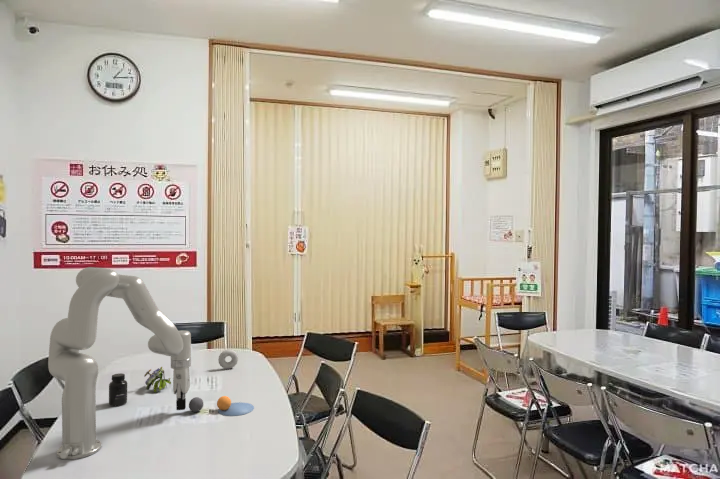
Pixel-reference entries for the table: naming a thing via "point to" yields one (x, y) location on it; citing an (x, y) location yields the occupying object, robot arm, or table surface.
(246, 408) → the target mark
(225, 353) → the donut
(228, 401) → the object ball
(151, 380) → the passion flower
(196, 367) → the table surface
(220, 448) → the table surface
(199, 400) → the dark gray ball
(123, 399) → the supplement bottle
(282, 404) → the table surface
